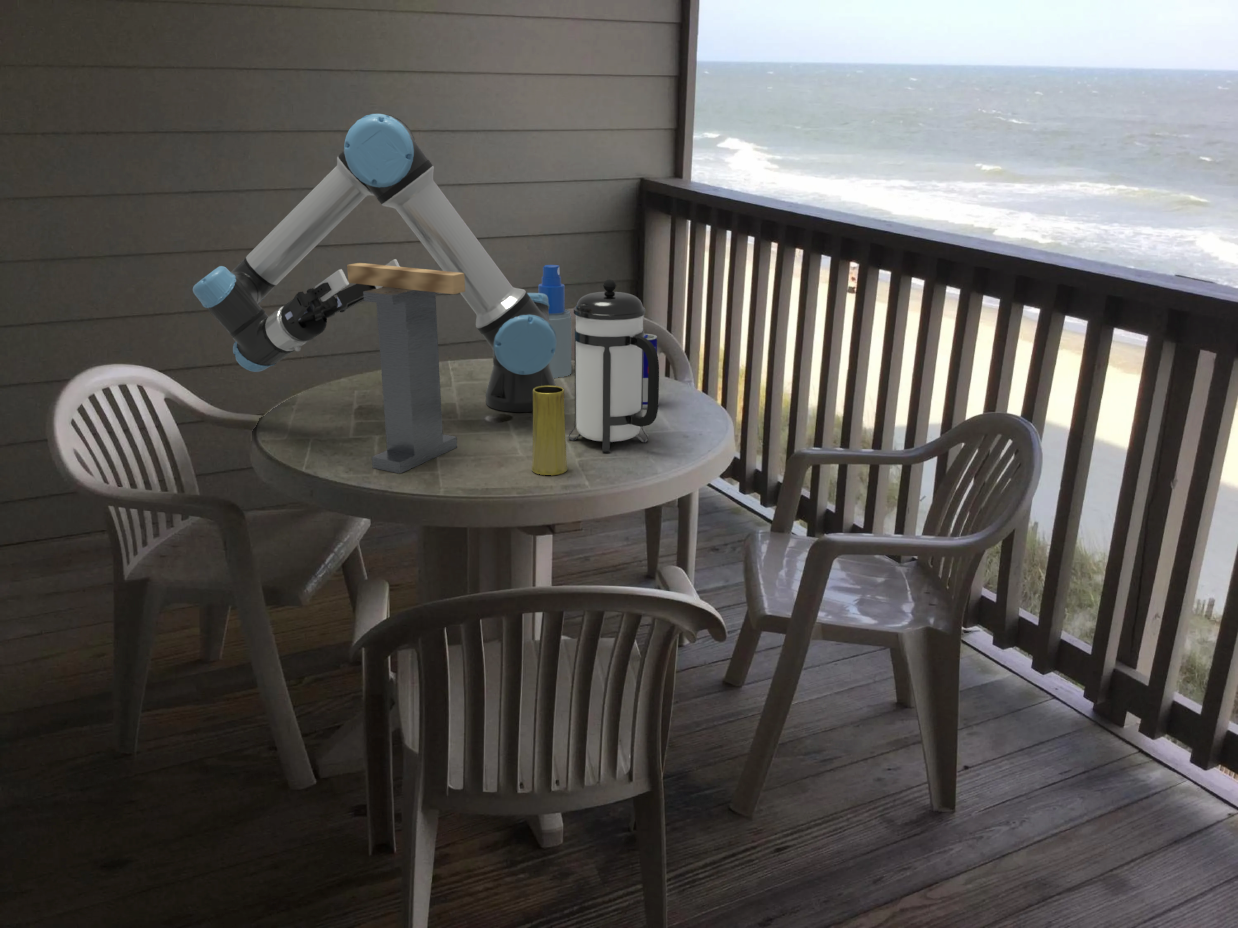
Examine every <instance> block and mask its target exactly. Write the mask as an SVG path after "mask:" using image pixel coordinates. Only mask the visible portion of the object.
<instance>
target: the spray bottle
mask: <svg viewBox="0 0 1238 928" xmlns="http://www.w3.org/2000/svg"><path fill="white" fill-rule="evenodd" d="M560 269H561V268H560V265H557V264H545V265H544V266H542V276H541V283H539V284H538V287H537V288H538V289H537V290H538V292H537V293H543V294H546V295H547V297H548V303H549V305H550V306H549V322H550V324H551V326H552V328H553V329H554V331H555V334H556V341H557V342H556V350H555V354H554V356H553V358H552V360H551V361H550V363H549V366H550V370H551V373H552V376H553V378H554V379H559V378H558V377H562V378H565V377H564V376H567V377H569V376H571V375H572V314H571V311H570V310H568V309H566V308H565V304H566V302H565V301H566V299H565V296H566V295H565V294H566V293H565V284H564V283H562V276H561V273H560V272H561V271H560ZM570 374H571V375H570ZM568 375H569V376H568Z"/></svg>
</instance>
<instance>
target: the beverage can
mask: <svg viewBox="0 0 1238 928" xmlns="http://www.w3.org/2000/svg"><path fill="white" fill-rule="evenodd" d="M644 338H646V339H647V340H649V341H650V342H651V343H652V344H653V346H654V348H655V350H656V352H657V353H658V339H657V338H658V336H657V335H656V334H652V333H644ZM642 365H643V410H644V409H646V410H647V406H648V360H647V356H646V354H645V352H644V361H643V350H642ZM641 410H642V402H641Z"/></svg>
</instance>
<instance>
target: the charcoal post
mask: <svg viewBox="0 0 1238 928" xmlns="http://www.w3.org/2000/svg"><path fill="white" fill-rule="evenodd" d="M437 294H439V293H437V292H428V291H419V290H410V289H401V288H392V287H382V288H378V289H373V290H369V291H364V292H363V296H364V300H363V302H369V303H370V302H371V303H376V313H377V315H376V317H377V328H378V343H379V356H380V357H379V358H380V370H381V384H382V395H383V396H382V398H383V414H384V426H385V438H386V439H385V441H386V450H384V451H381V452H380V453H377V454H375V455H373V456H371V464H372V469H375V470H376V469H377V470H382V471H385V472H386V471H387V472H390V473H396V474H399V473H401V474H402V473H405V472H406V471H409V470H411V468H412V469H414V468H415V467H418V466H421V465H422V464H425V463H427V462H428V461H431V460H433V459H435V458H437V457H439V456H442V455H444V454H445V453H448V452H450V451H452V450H454V449H456V448H457V447H458V442H457V439H458V438H457V436H454V435H449V434H443V432H444V431H443V418H442V417H443V414H442V396H441V377H440V358H439V354H440V353H439V338H438V337H439V336H438V335H439V334H438V322H437V321H438V319H437V318H438V317H437V303H436V302H437V299H436V298H437V296H436V295H437Z"/></svg>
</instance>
